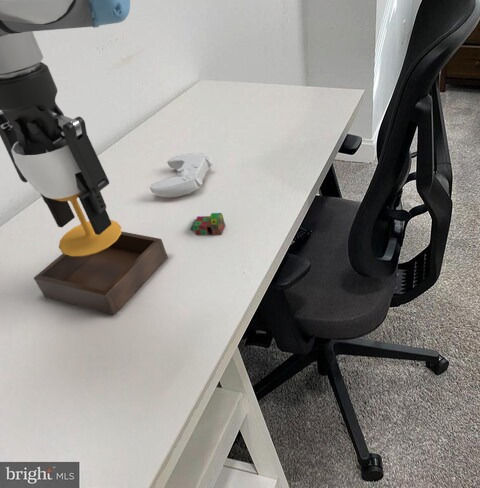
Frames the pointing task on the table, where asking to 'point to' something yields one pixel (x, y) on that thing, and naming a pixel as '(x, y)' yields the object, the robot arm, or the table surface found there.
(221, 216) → the block
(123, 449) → the table surface
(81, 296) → the holder
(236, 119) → the table surface
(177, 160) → the game controller
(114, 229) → the cup
